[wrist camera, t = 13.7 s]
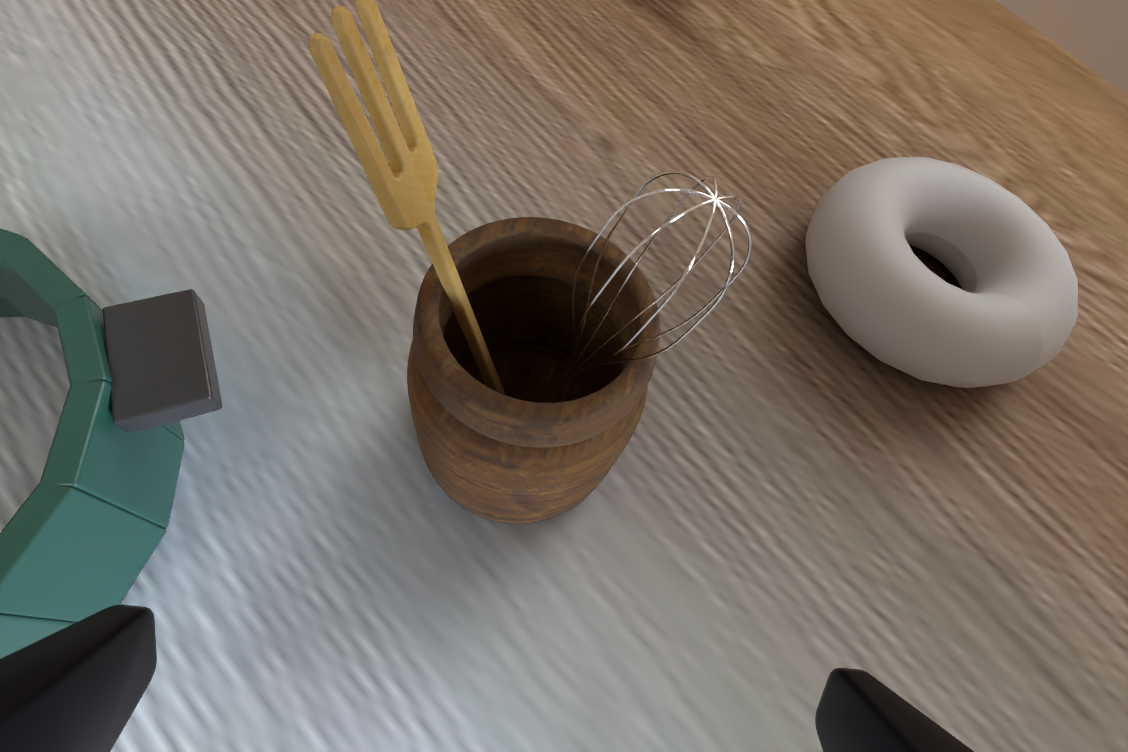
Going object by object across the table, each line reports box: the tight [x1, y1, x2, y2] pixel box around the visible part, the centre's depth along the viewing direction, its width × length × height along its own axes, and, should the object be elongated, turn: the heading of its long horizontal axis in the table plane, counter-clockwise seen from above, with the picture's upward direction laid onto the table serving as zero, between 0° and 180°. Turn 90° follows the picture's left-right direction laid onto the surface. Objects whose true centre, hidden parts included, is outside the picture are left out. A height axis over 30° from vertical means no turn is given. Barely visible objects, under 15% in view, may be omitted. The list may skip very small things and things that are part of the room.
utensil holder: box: [309, 0, 752, 524], centre depth 12 cm, size 6×6×12 cm
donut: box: [806, 157, 1078, 388], centre depth 21 cm, size 10×4×10 cm
